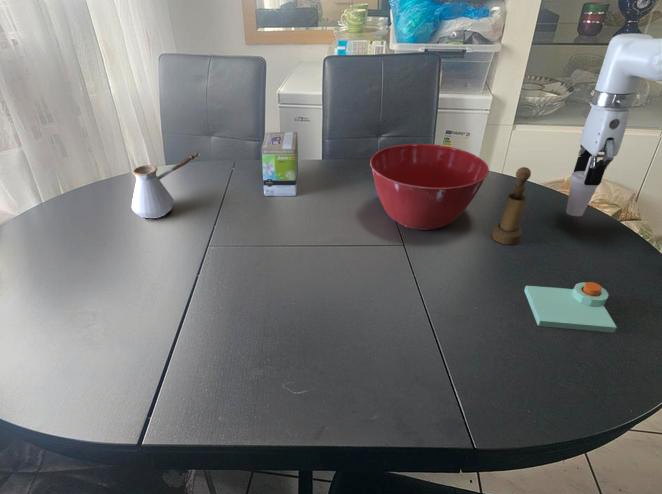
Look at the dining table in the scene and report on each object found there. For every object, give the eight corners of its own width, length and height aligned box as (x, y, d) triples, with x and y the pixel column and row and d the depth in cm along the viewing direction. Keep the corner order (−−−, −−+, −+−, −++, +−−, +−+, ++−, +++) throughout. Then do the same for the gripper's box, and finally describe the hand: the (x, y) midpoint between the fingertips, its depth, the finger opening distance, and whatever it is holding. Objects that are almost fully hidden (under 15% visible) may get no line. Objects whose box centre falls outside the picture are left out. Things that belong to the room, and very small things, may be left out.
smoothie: (578, 206, 113) (596, 152, 105) (595, 217, 108) (615, 161, 100) (554, 208, 113) (570, 154, 105) (570, 220, 107) (589, 164, 99)
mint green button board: (596, 295, 90) (601, 283, 88) (619, 333, 81) (625, 321, 79) (523, 289, 92) (527, 278, 91) (537, 326, 83) (542, 314, 81)
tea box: (297, 196, 132) (295, 147, 123) (263, 197, 132) (259, 148, 124) (298, 176, 144) (297, 130, 136) (267, 176, 144) (264, 131, 136)
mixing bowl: (491, 211, 121) (504, 155, 112) (451, 258, 102) (464, 197, 94) (396, 187, 135) (401, 136, 126) (346, 225, 117) (348, 169, 108)
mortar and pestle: (524, 244, 106) (546, 173, 96) (497, 245, 106) (516, 174, 96) (513, 231, 112) (533, 162, 101) (487, 231, 112) (504, 163, 102)
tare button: (595, 288, 88) (598, 282, 87) (601, 297, 85) (604, 291, 84) (580, 287, 88) (583, 281, 87) (585, 296, 86) (588, 289, 85)
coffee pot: (136, 226, 119) (122, 173, 111) (131, 208, 128) (117, 158, 119) (214, 209, 126) (206, 158, 118) (204, 194, 135) (196, 145, 126)
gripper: (651, 110, 88) (618, 194, 98) (615, 90, 102) (590, 165, 112) (609, 109, 89) (581, 193, 99) (579, 90, 103) (557, 165, 113)
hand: (586, 178), depth 105 cm, fingers closed on smoothie, 6 cm apart
